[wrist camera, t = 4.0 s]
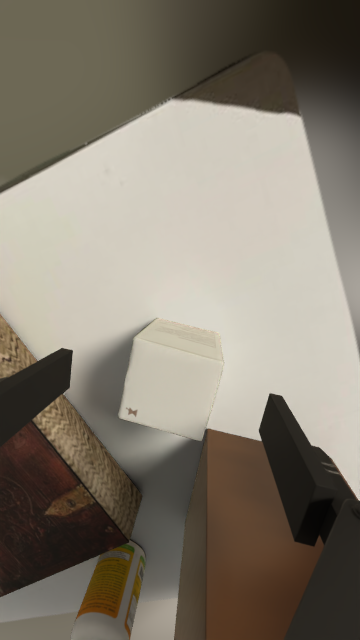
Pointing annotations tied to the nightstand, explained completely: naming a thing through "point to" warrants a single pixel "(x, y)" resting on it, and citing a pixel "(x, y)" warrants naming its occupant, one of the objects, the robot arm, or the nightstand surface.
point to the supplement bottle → (111, 595)
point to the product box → (172, 378)
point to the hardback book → (56, 489)
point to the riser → (239, 548)
